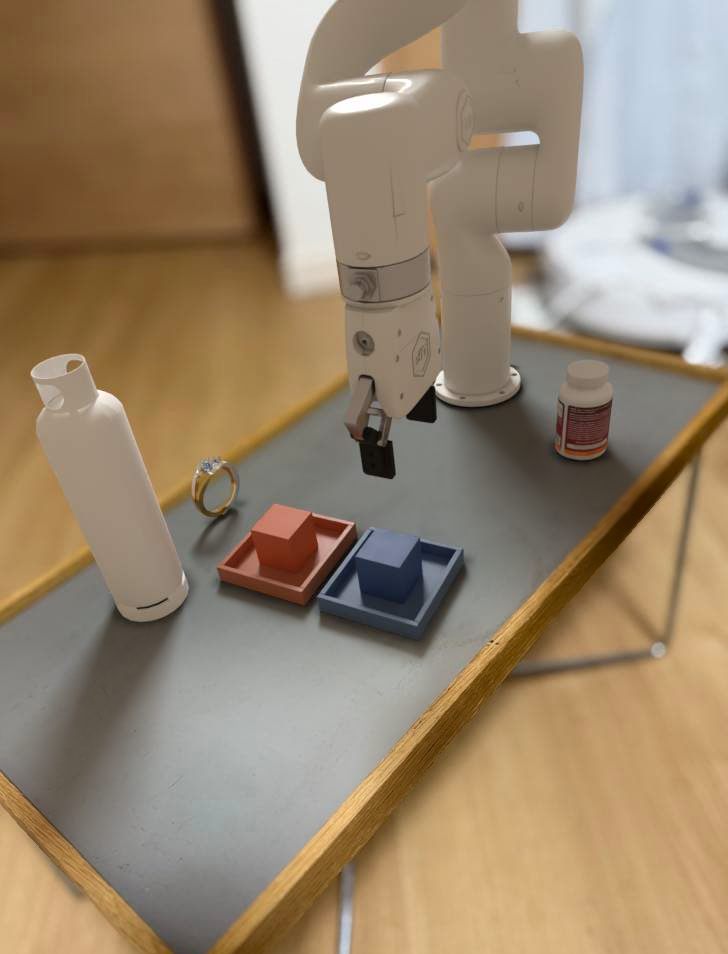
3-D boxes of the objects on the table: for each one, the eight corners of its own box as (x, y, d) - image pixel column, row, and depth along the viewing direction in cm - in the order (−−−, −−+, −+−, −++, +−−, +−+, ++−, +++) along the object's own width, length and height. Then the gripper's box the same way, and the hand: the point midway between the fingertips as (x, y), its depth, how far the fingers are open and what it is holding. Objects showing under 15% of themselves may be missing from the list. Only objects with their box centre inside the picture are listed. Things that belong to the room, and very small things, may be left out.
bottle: (102, 611, 78) (-9, 383, 60) (147, 565, 83) (56, 342, 65) (160, 629, 74) (59, 392, 57) (202, 579, 80) (122, 348, 62)
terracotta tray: (277, 516, 87) (274, 503, 85) (357, 536, 82) (355, 522, 80) (220, 580, 79) (216, 567, 78) (304, 606, 74) (301, 592, 73)
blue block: (380, 562, 77) (376, 526, 74) (423, 573, 74) (420, 537, 71) (359, 592, 74) (354, 556, 70) (403, 604, 71) (399, 568, 68)
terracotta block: (282, 537, 83) (274, 503, 80) (318, 546, 80) (312, 512, 77) (259, 563, 80) (249, 529, 76) (296, 574, 77) (288, 539, 74)
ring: (235, 495, 92) (221, 443, 87) (251, 502, 90) (238, 450, 85) (194, 523, 88) (177, 470, 83) (210, 532, 86) (193, 478, 81)
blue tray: (371, 539, 81) (369, 525, 80) (464, 561, 76) (463, 547, 74) (319, 610, 73) (316, 596, 72) (418, 640, 68) (417, 626, 67)
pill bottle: (617, 448, 87) (628, 366, 80) (582, 468, 85) (591, 386, 78) (577, 430, 92) (585, 351, 85) (543, 448, 90) (548, 369, 83)
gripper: (379, 323, 50) (399, 507, 62) (466, 235, 61) (469, 406, 72) (291, 315, 54) (325, 491, 65) (388, 233, 64) (403, 397, 76)
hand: (401, 446), depth 69 cm, fingers open, 9 cm apart
